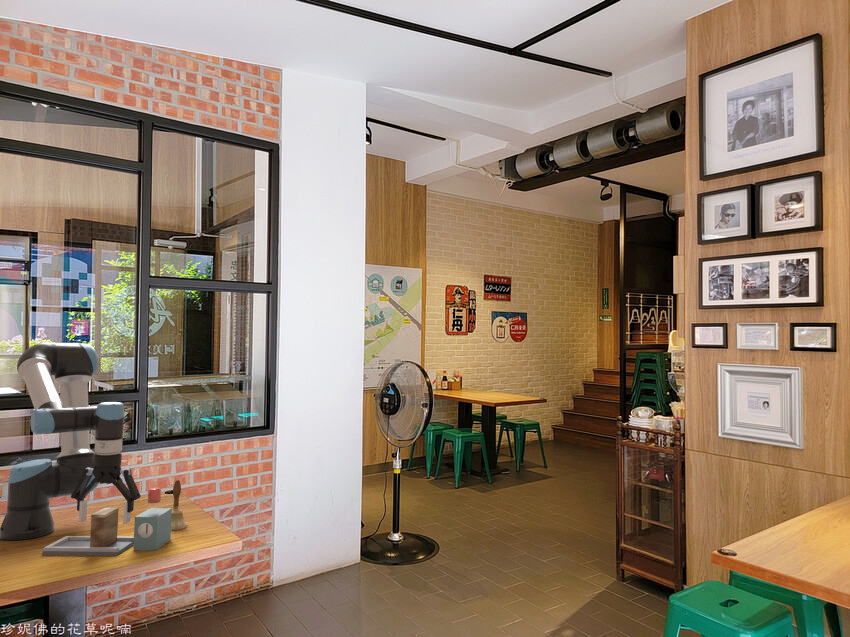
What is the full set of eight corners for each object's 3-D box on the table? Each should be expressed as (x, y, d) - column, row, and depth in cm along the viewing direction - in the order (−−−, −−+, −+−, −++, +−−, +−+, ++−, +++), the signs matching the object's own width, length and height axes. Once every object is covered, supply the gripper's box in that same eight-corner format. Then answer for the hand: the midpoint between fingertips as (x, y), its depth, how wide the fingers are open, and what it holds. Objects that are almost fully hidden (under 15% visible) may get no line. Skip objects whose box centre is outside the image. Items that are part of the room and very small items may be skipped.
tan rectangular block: (89, 548, 173) (91, 514, 174) (104, 540, 182) (105, 507, 182) (103, 548, 173) (104, 514, 174) (117, 540, 182) (118, 507, 182)
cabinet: (132, 550, 176) (133, 517, 176) (148, 539, 186) (150, 508, 187) (155, 551, 176) (156, 517, 176) (170, 539, 187) (171, 508, 187)
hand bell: (179, 521, 206) (180, 476, 207) (192, 526, 201) (194, 479, 202) (156, 527, 199) (158, 480, 200) (170, 532, 195) (172, 484, 196)
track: (42, 555, 171) (42, 548, 171) (66, 541, 183) (67, 535, 183) (116, 555, 171) (116, 548, 172) (136, 542, 183) (136, 536, 184)
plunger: (145, 503, 180) (146, 490, 181) (151, 500, 184) (151, 487, 184) (157, 503, 181) (157, 490, 181) (162, 500, 184) (162, 487, 184)
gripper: (60, 453, 175) (56, 524, 174) (142, 456, 175) (139, 527, 175) (75, 449, 183) (71, 517, 182) (154, 451, 183) (150, 519, 182)
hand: (104, 522), depth 178 cm, fingers open, 13 cm apart
